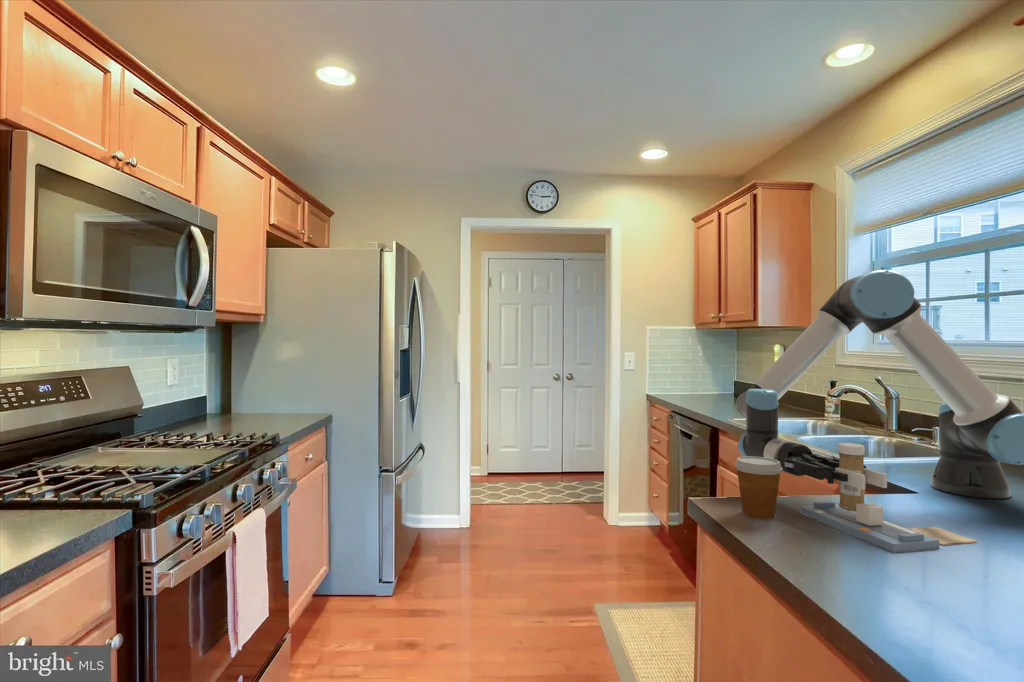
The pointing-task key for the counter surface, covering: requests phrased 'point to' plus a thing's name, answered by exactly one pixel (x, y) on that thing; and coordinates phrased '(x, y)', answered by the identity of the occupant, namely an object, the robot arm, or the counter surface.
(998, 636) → the counter surface
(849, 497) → the sprinkles bottle
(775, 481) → the disposable coffee cup
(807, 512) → the switch board
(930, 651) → the counter surface
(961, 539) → the cork coaster
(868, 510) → the ivory tab
